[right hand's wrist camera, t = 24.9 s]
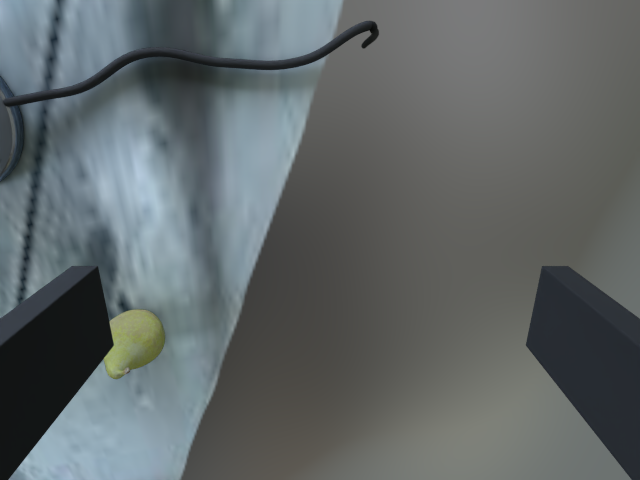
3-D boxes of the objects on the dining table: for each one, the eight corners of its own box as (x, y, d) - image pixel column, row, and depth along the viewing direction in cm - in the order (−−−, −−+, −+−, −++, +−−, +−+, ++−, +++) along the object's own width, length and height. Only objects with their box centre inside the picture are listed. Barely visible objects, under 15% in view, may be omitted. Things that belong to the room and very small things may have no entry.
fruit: (106, 318, 51) (45, 383, 40) (150, 286, 50) (101, 345, 38) (144, 355, 53) (96, 427, 42) (188, 325, 52) (151, 393, 40)
